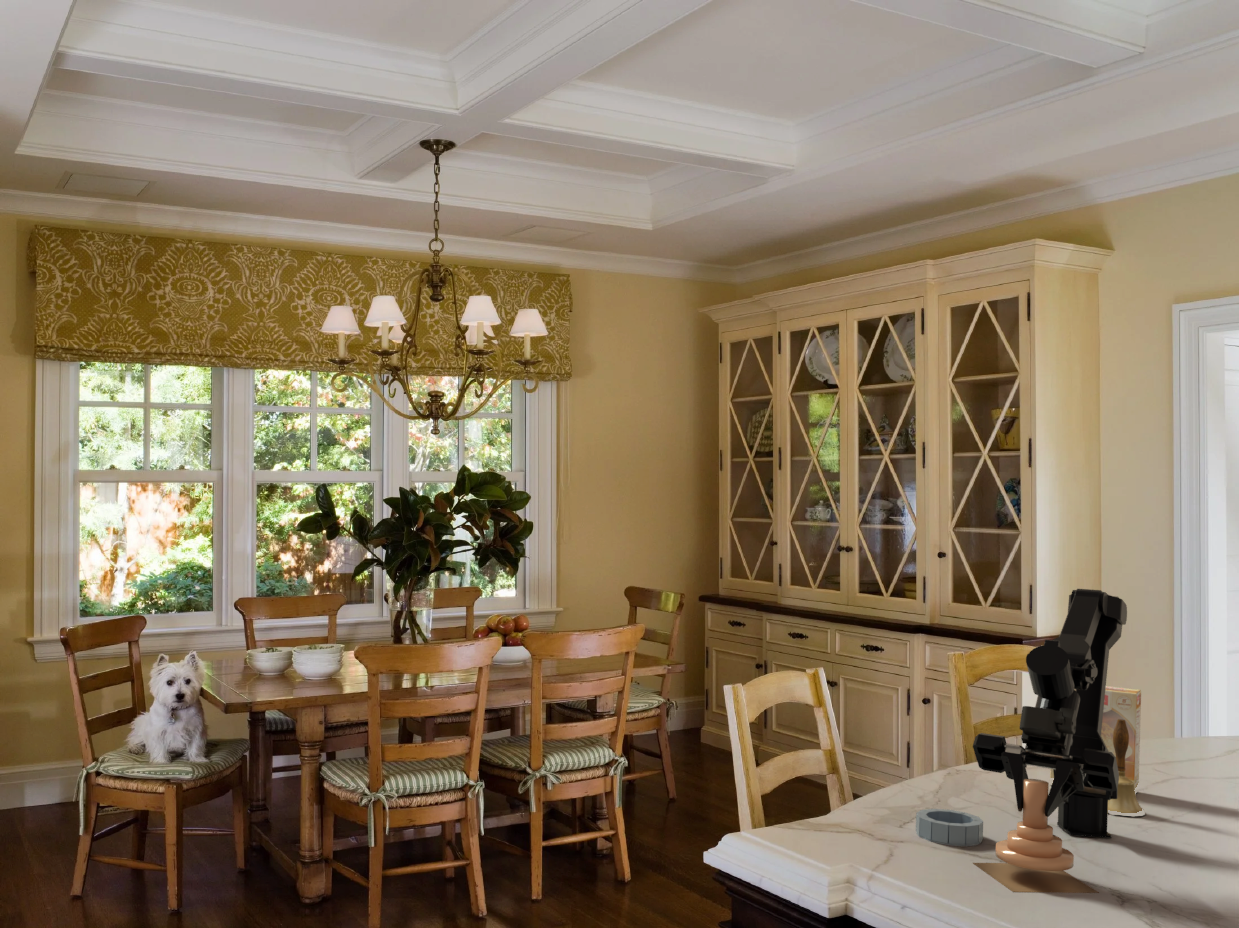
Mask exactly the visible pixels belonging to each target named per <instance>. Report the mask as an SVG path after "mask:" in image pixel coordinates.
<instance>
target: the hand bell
mask: <svg viewBox="0 0 1239 928" xmlns="http://www.w3.org/2000/svg"><path fill="white" fill-rule="evenodd" d="M1128 744H1129V733H1128V729H1127V726H1126V722H1125V720H1123V719H1118V720H1117V723H1116V726H1115V729H1114V732H1113V745H1114V749H1115V754H1116V762H1117V767H1118V772H1119V782H1118V795H1117V799H1111V800H1108V810H1110V811H1117V812H1121V813H1137V812H1139V811H1142V809H1143V807H1141V805H1140V803H1139V801H1138V799H1137V796H1136V795H1135V791H1134V783H1133V782H1132V781H1131V780H1129V779H1128V778H1127V777H1126V776H1125V755H1126V751H1127V749H1128Z"/></svg>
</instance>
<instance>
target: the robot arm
mask: <svg viewBox="0 0 1239 928" xmlns="http://www.w3.org/2000/svg"><path fill="white" fill-rule="evenodd" d="M1127 618H1128V607H1127V604H1126V603H1125V600H1124V599H1122V598H1120V597H1119V596H1116V595H1115V596H1113V595H1111V594H1108V593H1107V591H1102V590H1101V589H1089V588H1087V589H1086V588H1077V589H1072V591H1071V594H1069V595H1068V606H1067V615H1066V618H1065V620H1064V623H1063V626H1062V629H1061V631H1060V634H1059V635H1058V637H1056V638H1054V639H1044V643H1043V645H1042V644H1041V645H1039V646H1036V647H1034V648H1032V649H1031V650H1030V651H1029V652H1028V653H1027V654H1026V657H1025V663H1026V664H1025V665H1026V667H1027V671H1028V675H1029V679H1030V683H1031V687H1032V690H1033V693H1034V695H1037V698H1036V701H1035V706H1029V705H1024V706H1021V707H1022V708H1021V713H1020V721H1019V722H1020V723H1019V730H1020V731H1022V733H1021V742H1022V744H1025V746H1024V747H1023V746H1022V745H1019V744H1015V743H1008V742H1007V740H1006V736H1005V735H998V734H991V733H985V732H980V733H979V734H977V735H976V736H975V737H974V740H973V744H972V749H973V751H974V755H975V758H976V762H977V765H978V768H980V769H981V770H983V771H986V772H991V773H992V772H993V773H999V774H1003V773H1004V772H1005V776H1006V778H1008V779H1010V780H1013V783H1014V792H1015V798H1016V799H1015V800H1016V807H1017V810H1018V812H1020V813H1021V812H1022V813H1023V789H1024V779H1029V776H1028V772H1027V769H1026V768H1027V766H1030V767H1031V766H1032V767H1037V768H1043V769H1049V770H1050V769H1053V772H1054V780H1053V783H1052V785H1051V786H1050V788H1049V791H1048V798H1047V801H1046V806H1045V816H1047V817H1048V818H1049V817H1051V815H1052V814H1053V813H1054V812H1055V811H1056V809H1057V822H1056V825H1057V826H1058V827H1059V828H1060V829H1061V830H1063V831H1064V832H1066V833H1067V834H1069V835H1070V836H1074V837H1075V836H1076V837H1077V836H1078V837H1088V838H1089V837H1092V838H1093V837H1094V838H1104V839H1105V838H1107V839H1111V838H1112V834H1111V833H1110V832H1108V815H1109V814H1108V800H1111V799H1117V795H1118V782H1119V772H1118V767H1117V762H1116V757H1115V756H1114V754H1113V753H1112V752H1109V751H1108V749H1107V747H1106V745H1105V743H1104V741H1103V739H1102V737H1101V730H1102V720H1103V710H1104V699H1105V689H1106V686H1107V679H1108V678H1107V677H1108V668H1109V667H1108V666H1109V658H1110V656H1109V655H1110V650H1111V649H1112V647H1113V646H1114V645H1116V643H1117V642H1118V641H1119V640H1120V638H1121V637H1122V632H1123V625H1126V623H1127V620H1128V619H1127ZM1074 689H1076V691H1075V690H1074Z"/></svg>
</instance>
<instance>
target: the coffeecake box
mask: <svg viewBox="0 0 1239 928" xmlns="http://www.w3.org/2000/svg"><path fill="white" fill-rule="evenodd" d="M1074 690H1075V691H1076V689H1074ZM1141 705H1142V690H1141V689H1134V688H1126V687H1120V686H1119V687H1118V686H1110V685H1106V689H1105V699H1104V710H1103V720H1102V730H1101V737H1102V739H1103V741H1104V743H1105V745H1106V747H1107V749H1108V751H1109V752H1112V753H1113V754H1114V756H1115V757H1116V754H1115V749H1114V745H1113V732H1114V729H1115V726H1116V723H1117V720H1118V719H1123V720H1125V722H1126V726H1127V729H1128V733H1129V744H1128V749H1127V751H1126V755H1125V776H1126V777H1127V778H1128V779H1129V780H1131V781H1132V782H1133V783H1134V790H1135V788H1136V787H1137V785H1138V783H1140V751H1141V750H1140V749H1141V747H1140V746H1141V745H1140V744H1141V709H1142V708H1141V707H1142V706H1141ZM1049 770H1050V771H1049V773H1050V774H1049V779H1050V778H1054V772H1053V769H1049Z"/></svg>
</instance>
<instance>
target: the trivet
mask: <svg viewBox="0 0 1239 928" xmlns="http://www.w3.org/2000/svg"><path fill="white" fill-rule="evenodd" d="M972 864H973V865H974V866H976V867H977V868H978V869H980V870H981V871H983V873H985V874H987V875H988V876H990V877H991V878H992V879H994V880H995V881H997V882H998V883H1000V885H1002V886H1004V887H1005V888H1007V889H1008V890H1009V891H1011V892H1012V893H1047V894H1048V893H1054V894H1057V893H1059V894H1060V893H1061V894H1062V893H1064V894H1067V893H1068V894H1069V893H1072V894H1075V893H1076V894H1081V893H1082V894H1099V893H1100V892H1099V891H1097V890H1096V889H1094V888H1093V887H1091V886H1089V885H1087V884H1086V883H1085V882H1083V881H1081V880H1080V879H1078V878H1077V877H1075V876H1073V875H1071V874H1069V873H1068V872H1067V871H1066V870H1064V871H1042V870H1034V869H1028V868H1023V867H1019V866H1015V865H1012V864H1009V863H1007V862H972Z"/></svg>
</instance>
